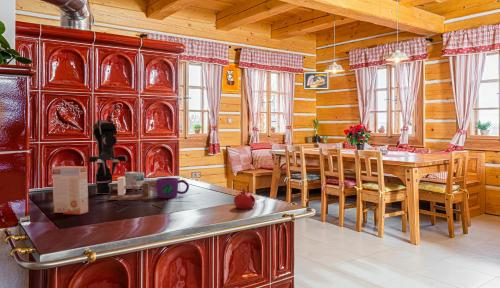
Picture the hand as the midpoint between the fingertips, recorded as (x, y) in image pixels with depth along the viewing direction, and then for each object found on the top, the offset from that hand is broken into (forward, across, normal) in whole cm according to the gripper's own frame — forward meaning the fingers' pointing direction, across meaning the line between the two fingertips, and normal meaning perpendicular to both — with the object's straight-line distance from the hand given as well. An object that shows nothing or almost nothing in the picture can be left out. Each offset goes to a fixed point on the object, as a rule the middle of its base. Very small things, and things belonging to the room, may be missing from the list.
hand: (108, 175), depth 209 cm
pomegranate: (+13, +66, -41) cm, 79 cm away
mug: (+13, +34, -1) cm, 36 cm away
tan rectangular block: (+10, +7, 0) cm, 12 cm away
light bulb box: (+13, +10, +33) cm, 37 cm away
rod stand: (+13, +10, 0) cm, 17 cm away
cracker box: (+13, -11, -33) cm, 37 cm away
